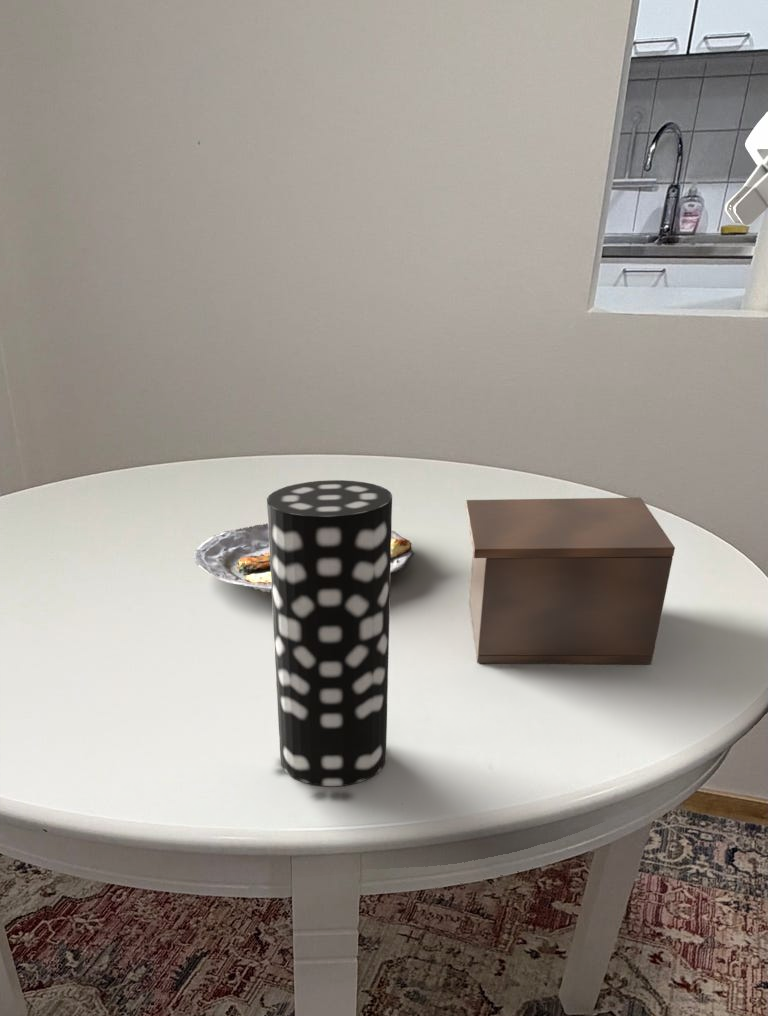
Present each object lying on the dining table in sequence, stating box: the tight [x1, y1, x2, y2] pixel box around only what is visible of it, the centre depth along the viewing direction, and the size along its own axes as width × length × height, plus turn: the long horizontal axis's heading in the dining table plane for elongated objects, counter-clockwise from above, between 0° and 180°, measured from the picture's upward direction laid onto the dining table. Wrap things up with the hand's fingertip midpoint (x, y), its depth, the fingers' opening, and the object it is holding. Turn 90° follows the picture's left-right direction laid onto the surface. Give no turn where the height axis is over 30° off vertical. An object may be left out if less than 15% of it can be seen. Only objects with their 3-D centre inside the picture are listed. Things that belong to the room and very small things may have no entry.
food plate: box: [193, 523, 415, 593], centre depth 109 cm, size 25×23×4 cm
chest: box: [468, 553, 674, 665], centre depth 90 cm, size 16×15×10 cm
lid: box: [465, 497, 676, 558], centre depth 87 cm, size 17×15×1 cm
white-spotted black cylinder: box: [266, 479, 393, 787], centre depth 69 cm, size 8×8×20 cm
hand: (734, 217), depth 72 cm, fingers closed
